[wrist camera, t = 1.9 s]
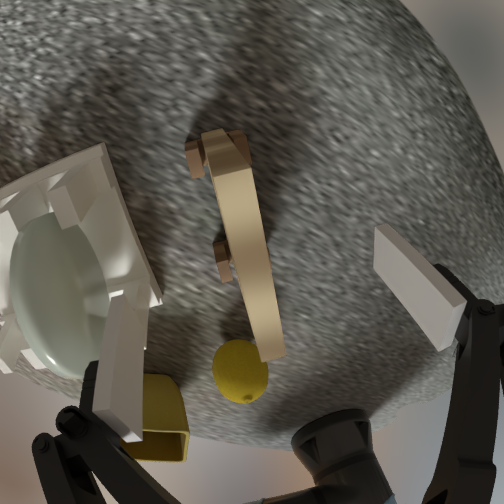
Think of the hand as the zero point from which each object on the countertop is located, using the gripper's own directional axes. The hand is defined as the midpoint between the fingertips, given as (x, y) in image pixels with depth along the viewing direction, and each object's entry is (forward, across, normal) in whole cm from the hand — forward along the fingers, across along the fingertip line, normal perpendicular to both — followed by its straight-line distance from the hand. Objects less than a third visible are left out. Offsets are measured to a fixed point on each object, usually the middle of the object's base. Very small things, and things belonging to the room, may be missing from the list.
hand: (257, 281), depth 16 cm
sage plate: (+9, +12, 0) cm, 15 cm away
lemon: (+12, +3, +16) cm, 20 cm away
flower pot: (+12, +15, +20) cm, 28 cm away
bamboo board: (+11, 0, 0) cm, 11 cm away
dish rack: (+12, +17, 0) cm, 21 cm away
